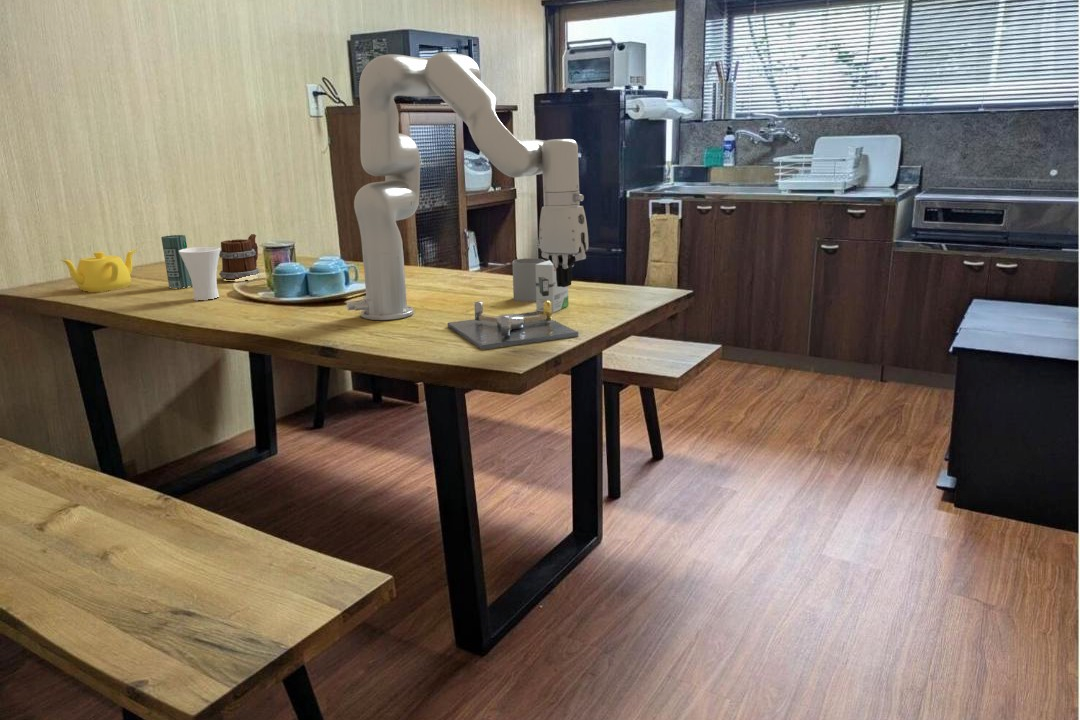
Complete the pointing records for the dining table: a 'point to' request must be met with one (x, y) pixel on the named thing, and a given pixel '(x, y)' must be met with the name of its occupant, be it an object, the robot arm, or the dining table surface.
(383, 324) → the dining table surface
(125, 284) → the teapot
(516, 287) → the cup
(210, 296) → the cup
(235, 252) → the mug
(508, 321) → the capstan
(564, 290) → the ink box
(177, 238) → the teal patterned carton
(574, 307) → the dining table surface
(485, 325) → the stand plate
